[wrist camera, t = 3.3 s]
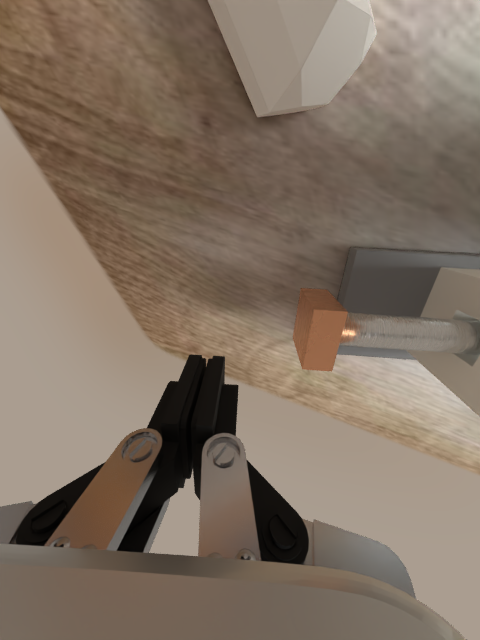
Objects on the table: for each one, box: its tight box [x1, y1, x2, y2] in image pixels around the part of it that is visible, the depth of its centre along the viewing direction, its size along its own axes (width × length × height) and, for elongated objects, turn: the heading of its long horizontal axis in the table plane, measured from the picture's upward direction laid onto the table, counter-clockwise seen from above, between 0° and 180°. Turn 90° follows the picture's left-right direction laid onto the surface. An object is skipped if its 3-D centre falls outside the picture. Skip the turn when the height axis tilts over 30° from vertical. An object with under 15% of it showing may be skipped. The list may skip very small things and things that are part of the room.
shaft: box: [293, 288, 480, 371], centre depth 16 cm, size 20×4×4 cm, turn 87°
